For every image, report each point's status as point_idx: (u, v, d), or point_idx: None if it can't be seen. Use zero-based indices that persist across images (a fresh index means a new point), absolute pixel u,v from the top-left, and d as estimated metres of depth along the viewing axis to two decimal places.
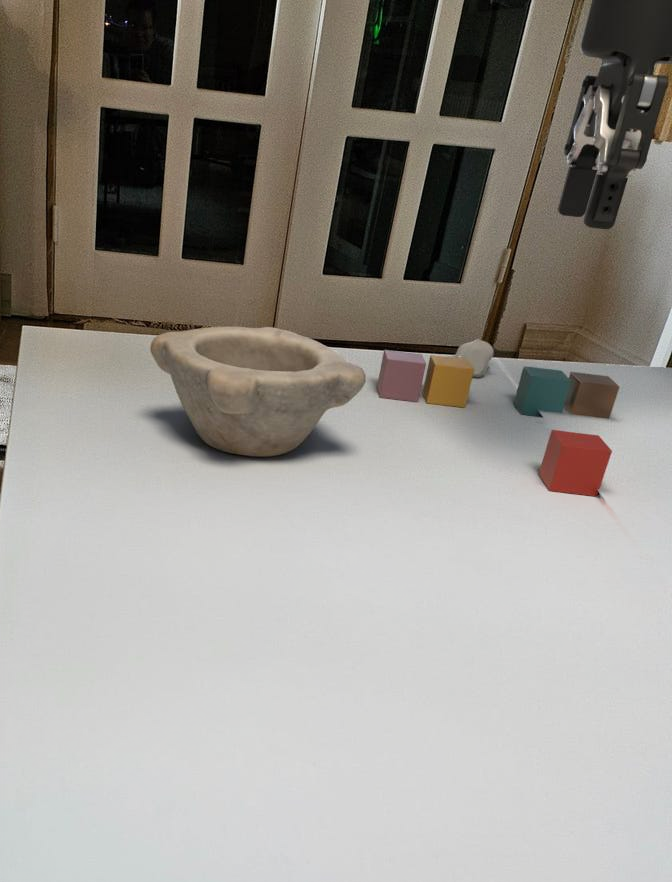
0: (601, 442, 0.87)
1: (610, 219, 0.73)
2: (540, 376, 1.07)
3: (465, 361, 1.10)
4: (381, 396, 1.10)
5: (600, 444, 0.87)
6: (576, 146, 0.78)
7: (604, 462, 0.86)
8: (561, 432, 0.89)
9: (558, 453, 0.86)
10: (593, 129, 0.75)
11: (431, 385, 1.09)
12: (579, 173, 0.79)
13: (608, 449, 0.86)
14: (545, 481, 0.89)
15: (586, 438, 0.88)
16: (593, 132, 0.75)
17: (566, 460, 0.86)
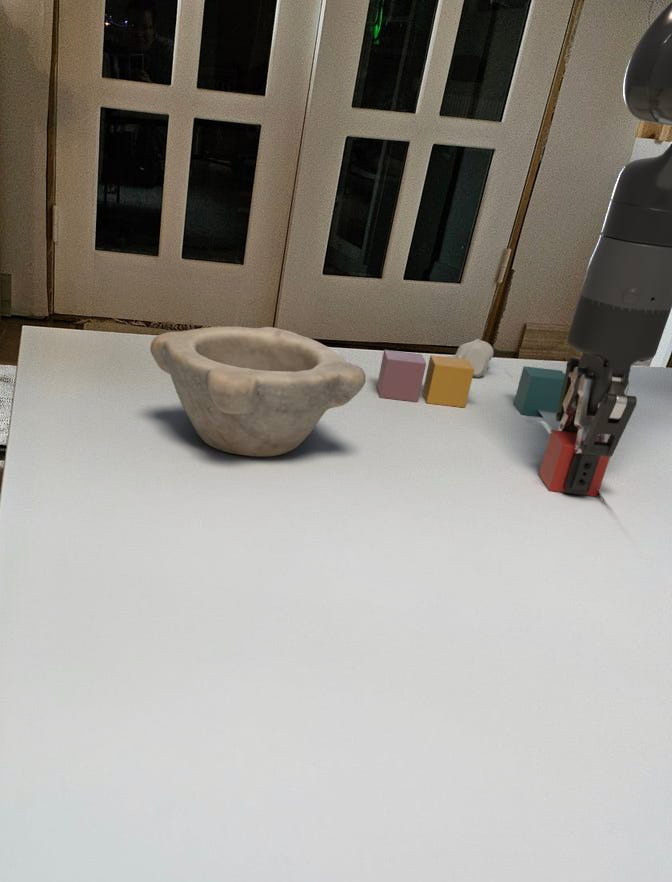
0: None
1: (585, 489, 0.86)
2: (540, 376, 1.07)
3: (465, 361, 1.10)
4: (381, 396, 1.10)
5: None
6: (566, 417, 0.89)
7: (604, 462, 0.86)
8: (561, 432, 0.89)
9: (558, 453, 0.86)
10: None
11: (431, 385, 1.09)
12: None
13: None
14: (545, 481, 0.89)
15: None
16: None
17: (566, 460, 0.86)
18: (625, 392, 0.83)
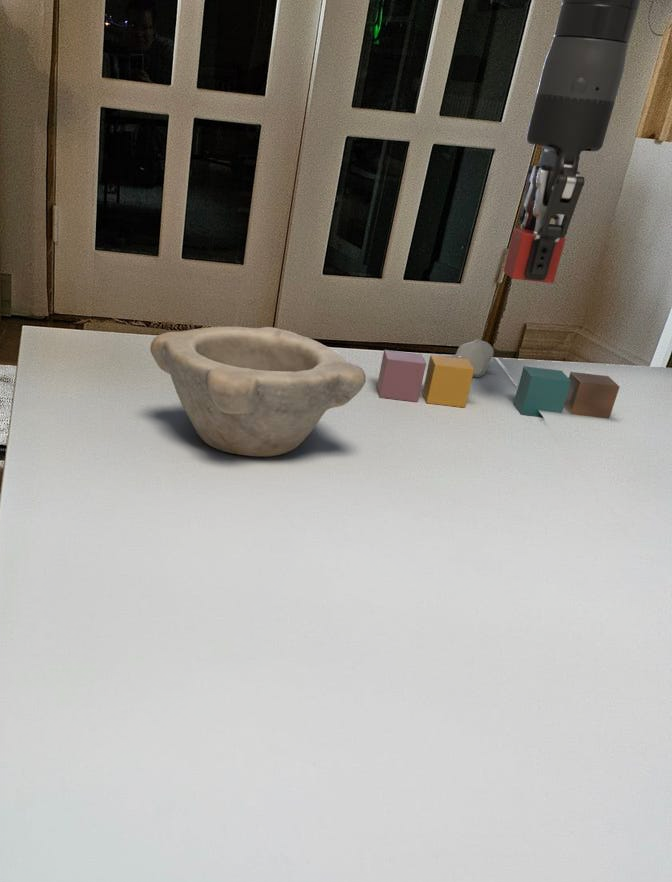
0: None
1: (543, 273, 0.99)
2: (540, 376, 1.07)
3: (465, 361, 1.10)
4: (381, 396, 1.10)
5: None
6: (527, 215, 1.01)
7: (559, 250, 0.99)
8: (522, 229, 1.02)
9: (519, 242, 0.99)
10: None
11: (431, 385, 1.09)
12: None
13: None
14: (508, 273, 1.02)
15: None
16: None
17: (526, 248, 0.99)
18: None
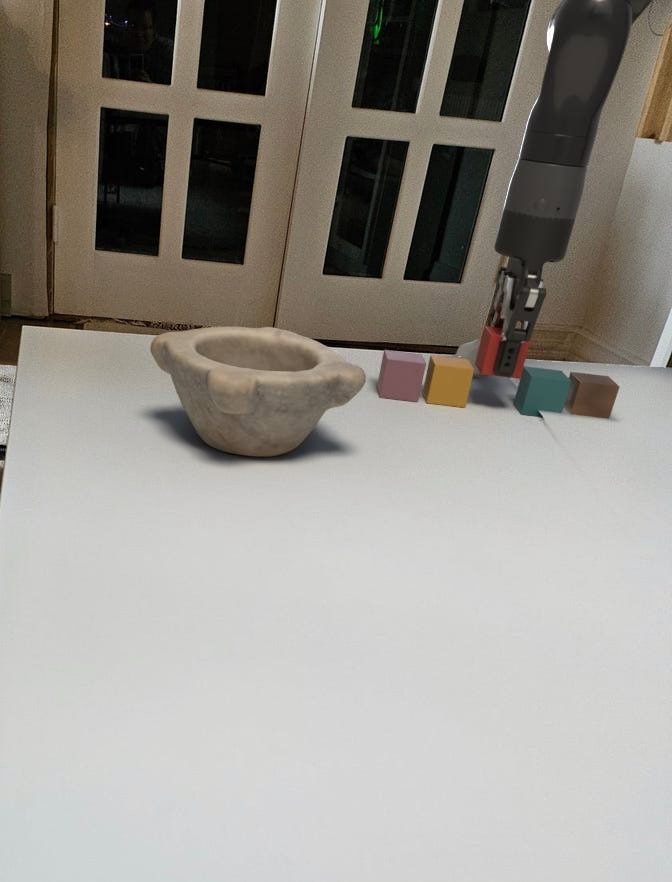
0: None
1: (510, 371, 1.06)
2: (540, 376, 1.07)
3: (465, 361, 1.10)
4: (381, 396, 1.10)
5: None
6: (496, 315, 1.08)
7: (525, 349, 1.06)
8: (492, 327, 1.09)
9: (488, 342, 1.06)
10: None
11: (431, 385, 1.09)
12: None
13: None
14: (479, 368, 1.09)
15: None
16: None
17: (494, 347, 1.06)
18: None
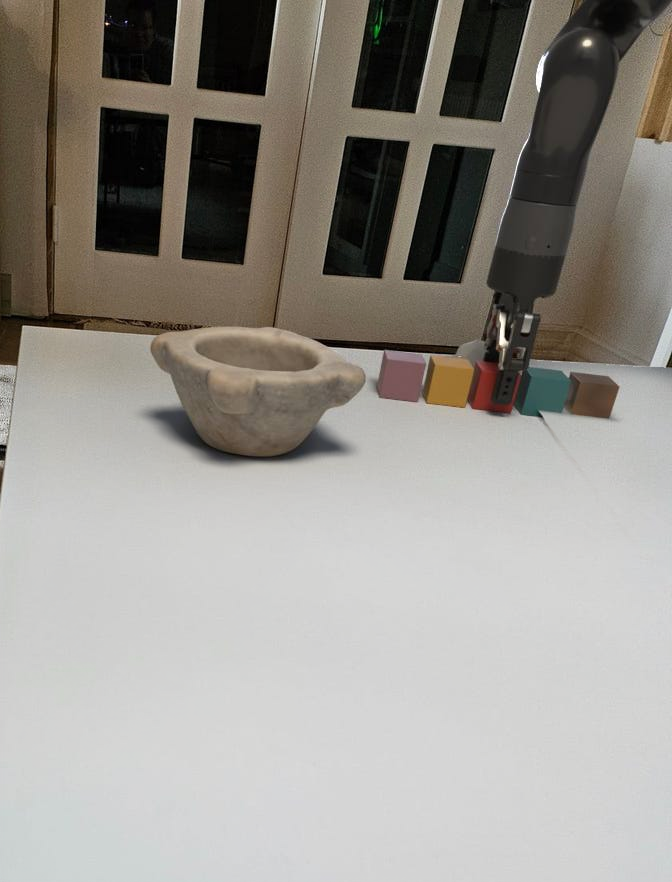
0: None
1: (508, 399, 1.06)
2: (540, 376, 1.07)
3: (465, 361, 1.10)
4: (381, 396, 1.10)
5: None
6: (488, 339, 1.11)
7: None
8: (483, 362, 1.11)
9: (479, 377, 1.08)
10: None
11: (431, 385, 1.09)
12: (492, 356, 1.12)
13: None
14: (470, 402, 1.11)
15: None
16: None
17: (485, 382, 1.08)
18: None
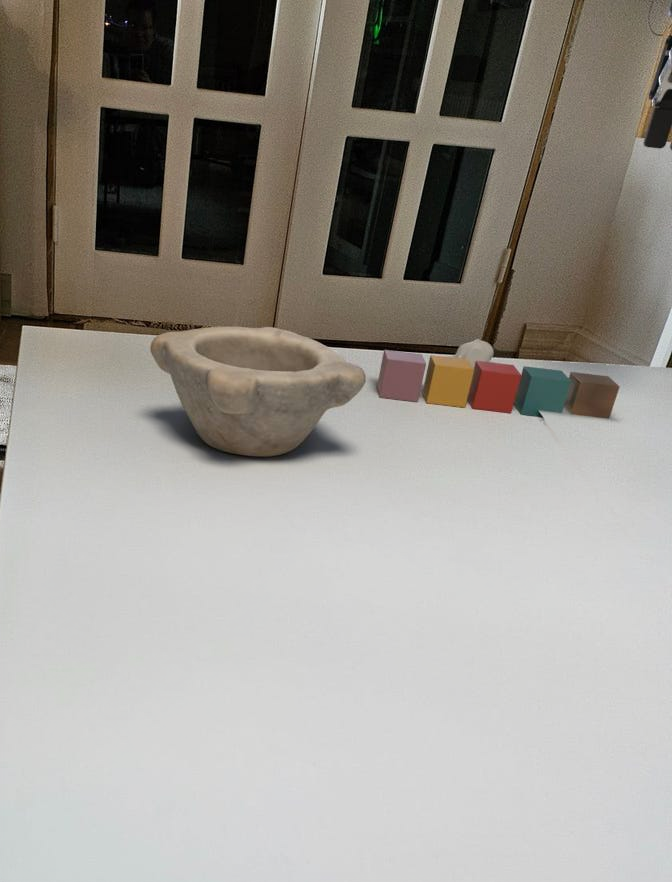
0: (514, 369, 1.09)
1: None
2: (540, 376, 1.07)
3: (465, 361, 1.10)
4: (381, 396, 1.10)
5: (513, 370, 1.08)
6: (660, 91, 1.00)
7: (515, 384, 1.08)
8: (483, 362, 1.11)
9: (479, 377, 1.08)
10: None
11: (431, 385, 1.09)
12: (662, 113, 1.01)
13: (518, 373, 1.07)
14: (470, 402, 1.11)
15: (502, 366, 1.10)
16: None
17: (485, 382, 1.08)
18: None
